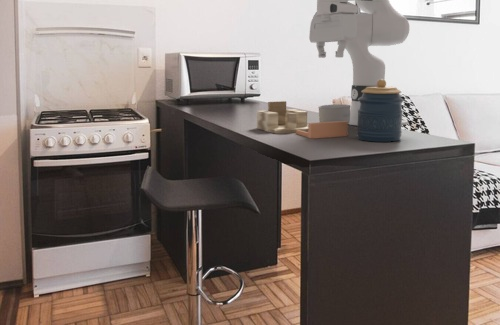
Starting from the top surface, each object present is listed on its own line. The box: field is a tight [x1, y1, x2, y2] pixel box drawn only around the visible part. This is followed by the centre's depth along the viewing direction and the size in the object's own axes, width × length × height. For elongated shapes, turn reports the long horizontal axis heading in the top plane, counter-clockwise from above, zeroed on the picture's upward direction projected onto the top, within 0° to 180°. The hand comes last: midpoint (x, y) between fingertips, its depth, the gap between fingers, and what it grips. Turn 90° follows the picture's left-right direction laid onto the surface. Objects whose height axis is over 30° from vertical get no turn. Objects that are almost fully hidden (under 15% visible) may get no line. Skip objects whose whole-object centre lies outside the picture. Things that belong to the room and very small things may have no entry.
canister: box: [356, 79, 404, 143], centre depth 144 cm, size 13×13×18 cm
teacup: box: [317, 103, 351, 125], centre depth 170 cm, size 14×11×8 cm
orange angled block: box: [295, 121, 349, 139], centre depth 154 cm, size 10×13×4 cm
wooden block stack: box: [256, 100, 308, 134], centre depth 165 cm, size 14×15×9 cm
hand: (330, 57), depth 145 cm, fingers open, 8 cm apart
